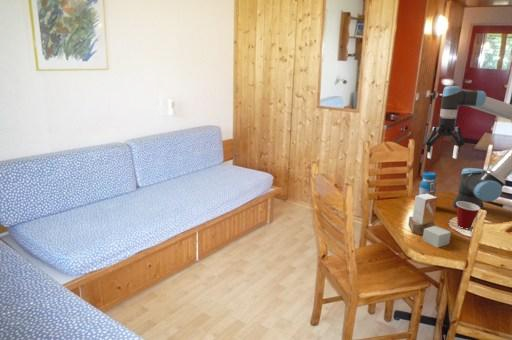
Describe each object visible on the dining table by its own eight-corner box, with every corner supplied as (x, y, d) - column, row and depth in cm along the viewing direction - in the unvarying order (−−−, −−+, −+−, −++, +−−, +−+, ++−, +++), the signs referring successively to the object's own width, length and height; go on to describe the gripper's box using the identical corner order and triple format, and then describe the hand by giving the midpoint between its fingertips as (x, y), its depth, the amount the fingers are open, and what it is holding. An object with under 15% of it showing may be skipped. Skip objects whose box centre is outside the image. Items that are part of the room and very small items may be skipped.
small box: (422, 225, 184) (425, 199, 181) (411, 220, 190) (414, 195, 186) (434, 222, 188) (437, 197, 184) (423, 217, 193) (427, 193, 190)
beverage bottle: (416, 208, 218) (421, 174, 213) (417, 203, 226) (421, 170, 220) (433, 210, 215) (438, 176, 209) (432, 205, 222) (437, 172, 217)
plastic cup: (476, 233, 186) (480, 210, 183) (451, 228, 192) (455, 205, 189) (477, 225, 195) (481, 203, 192) (453, 221, 201) (457, 199, 198)
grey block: (433, 237, 182) (435, 225, 181) (449, 244, 176) (450, 232, 174) (422, 240, 179) (424, 228, 177) (437, 247, 172) (439, 235, 170)
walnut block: (429, 227, 194) (430, 218, 193) (434, 235, 185) (435, 226, 183) (408, 225, 196) (409, 216, 194) (412, 233, 186) (413, 224, 185)
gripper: (427, 118, 190) (421, 160, 196) (476, 118, 191) (469, 159, 197) (420, 116, 197) (415, 156, 203) (467, 116, 198) (461, 156, 204)
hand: (441, 158), depth 200 cm, fingers open, 13 cm apart
